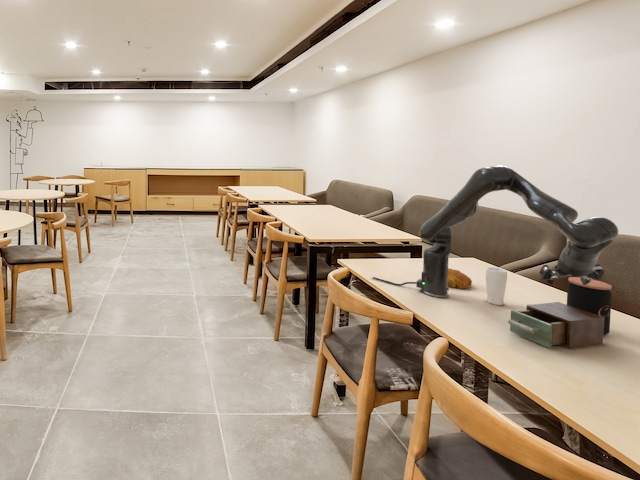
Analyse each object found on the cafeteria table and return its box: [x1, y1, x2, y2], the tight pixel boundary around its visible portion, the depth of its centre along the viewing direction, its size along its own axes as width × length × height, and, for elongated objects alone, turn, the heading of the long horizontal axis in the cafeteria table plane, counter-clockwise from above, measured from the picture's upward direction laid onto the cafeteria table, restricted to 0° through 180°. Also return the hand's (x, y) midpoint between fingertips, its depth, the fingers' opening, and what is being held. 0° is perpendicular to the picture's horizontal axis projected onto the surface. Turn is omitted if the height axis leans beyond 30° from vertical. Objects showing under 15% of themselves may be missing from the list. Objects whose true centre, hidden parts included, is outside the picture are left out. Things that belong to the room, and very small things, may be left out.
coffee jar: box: [566, 276, 613, 336], centre depth 136 cm, size 11×11×18 cm
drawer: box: [507, 309, 568, 348], centre depth 128 cm, size 19×11×8 cm, turn 101°
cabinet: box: [525, 301, 605, 350], centre depth 130 cm, size 16×13×10 cm
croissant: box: [447, 267, 473, 290], centre depth 180 cm, size 14×16×8 cm
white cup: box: [485, 266, 508, 306], centre depth 158 cm, size 7×7×15 cm
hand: (565, 282), depth 127 cm, fingers open, 8 cm apart
